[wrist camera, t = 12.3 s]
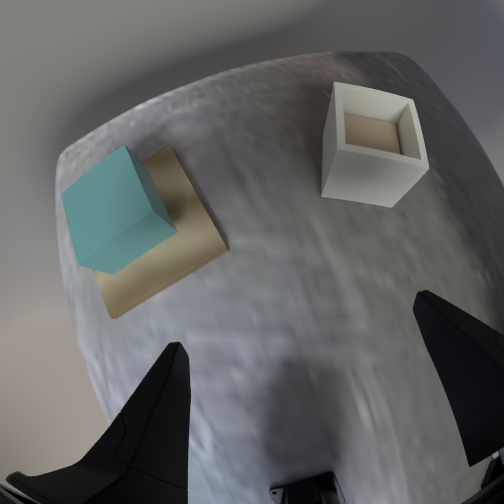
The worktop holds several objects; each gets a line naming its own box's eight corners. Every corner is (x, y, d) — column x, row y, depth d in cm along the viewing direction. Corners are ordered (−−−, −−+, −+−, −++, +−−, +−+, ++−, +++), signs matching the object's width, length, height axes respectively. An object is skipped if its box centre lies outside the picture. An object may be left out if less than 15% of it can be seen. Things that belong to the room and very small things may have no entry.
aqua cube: (183, 236, 24) (153, 211, 17) (121, 277, 23) (78, 265, 17) (154, 178, 25) (124, 144, 19) (99, 217, 25) (61, 194, 19)
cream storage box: (391, 207, 24) (429, 168, 16) (320, 196, 24) (337, 149, 17) (386, 147, 25) (413, 99, 17) (322, 135, 26) (333, 81, 18)
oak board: (229, 250, 24) (227, 248, 23) (116, 318, 24) (110, 318, 23) (173, 150, 27) (169, 145, 26) (81, 214, 27) (76, 211, 26)
